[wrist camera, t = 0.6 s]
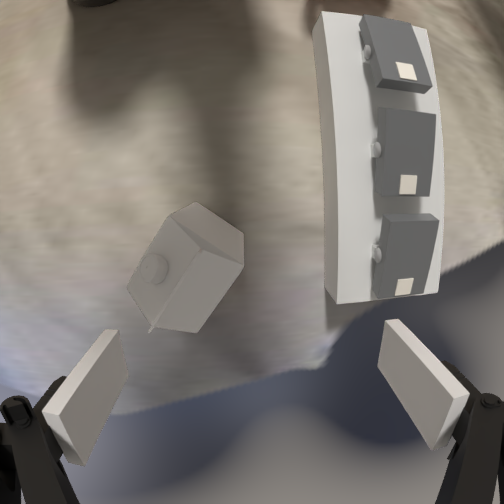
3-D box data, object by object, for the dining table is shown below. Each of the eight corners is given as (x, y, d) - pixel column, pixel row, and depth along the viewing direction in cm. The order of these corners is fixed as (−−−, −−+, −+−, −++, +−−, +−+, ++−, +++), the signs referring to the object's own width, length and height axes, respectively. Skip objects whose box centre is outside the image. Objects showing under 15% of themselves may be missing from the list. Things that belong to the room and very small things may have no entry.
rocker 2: (379, 212, 31) (389, 222, 29) (429, 211, 31) (441, 220, 29) (368, 286, 35) (376, 300, 33) (415, 282, 35) (425, 294, 33)
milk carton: (244, 233, 40) (245, 282, 21) (212, 279, 41) (190, 358, 22) (196, 200, 38) (154, 221, 20) (165, 248, 40) (107, 305, 21)
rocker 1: (355, 26, 28) (362, 13, 26) (404, 34, 28) (412, 23, 26) (372, 89, 28) (381, 77, 25) (423, 96, 28) (435, 86, 25)
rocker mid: (374, 106, 28) (384, 107, 26) (425, 112, 29) (438, 114, 26) (370, 189, 33) (380, 196, 30) (419, 189, 33) (431, 197, 30)
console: (311, 31, 34) (323, 7, 27) (409, 44, 34) (433, 27, 27) (324, 287, 41) (339, 307, 35) (419, 278, 42) (445, 294, 35)
